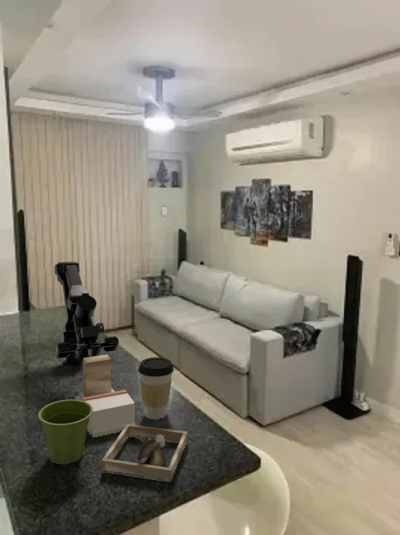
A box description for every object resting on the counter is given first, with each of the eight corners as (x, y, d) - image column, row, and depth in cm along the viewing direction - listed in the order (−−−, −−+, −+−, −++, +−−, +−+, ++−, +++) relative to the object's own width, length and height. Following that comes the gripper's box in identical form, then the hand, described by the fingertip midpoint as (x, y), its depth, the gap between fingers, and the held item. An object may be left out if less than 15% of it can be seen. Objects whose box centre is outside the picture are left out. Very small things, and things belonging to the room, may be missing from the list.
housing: (73, 400, 125) (73, 380, 124) (113, 393, 130) (113, 373, 129) (91, 438, 105) (90, 414, 104) (137, 428, 110) (137, 405, 109)
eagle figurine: (127, 450, 98) (129, 466, 90) (144, 423, 100) (147, 436, 91) (154, 465, 100) (159, 483, 91) (170, 438, 101) (176, 453, 92)
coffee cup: (178, 409, 121) (179, 359, 119) (164, 425, 112) (165, 372, 110) (147, 403, 124) (147, 354, 122) (131, 418, 115) (131, 366, 113)
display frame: (127, 435, 107) (127, 424, 106) (187, 443, 104) (187, 431, 104) (101, 472, 92) (101, 460, 91) (170, 483, 89) (171, 470, 88)
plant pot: (64, 479, 89) (62, 430, 88) (28, 460, 95) (26, 414, 94) (104, 452, 99) (103, 408, 97) (69, 436, 105) (68, 394, 104)
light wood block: (83, 396, 124) (82, 357, 122) (106, 391, 127) (106, 353, 126) (86, 402, 120) (86, 362, 118) (110, 398, 123) (110, 359, 122)
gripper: (56, 317, 126) (63, 365, 118) (117, 311, 134) (127, 356, 126) (53, 335, 134) (59, 381, 126) (110, 328, 142) (120, 371, 134)
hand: (92, 372), depth 128 cm, fingers closed
